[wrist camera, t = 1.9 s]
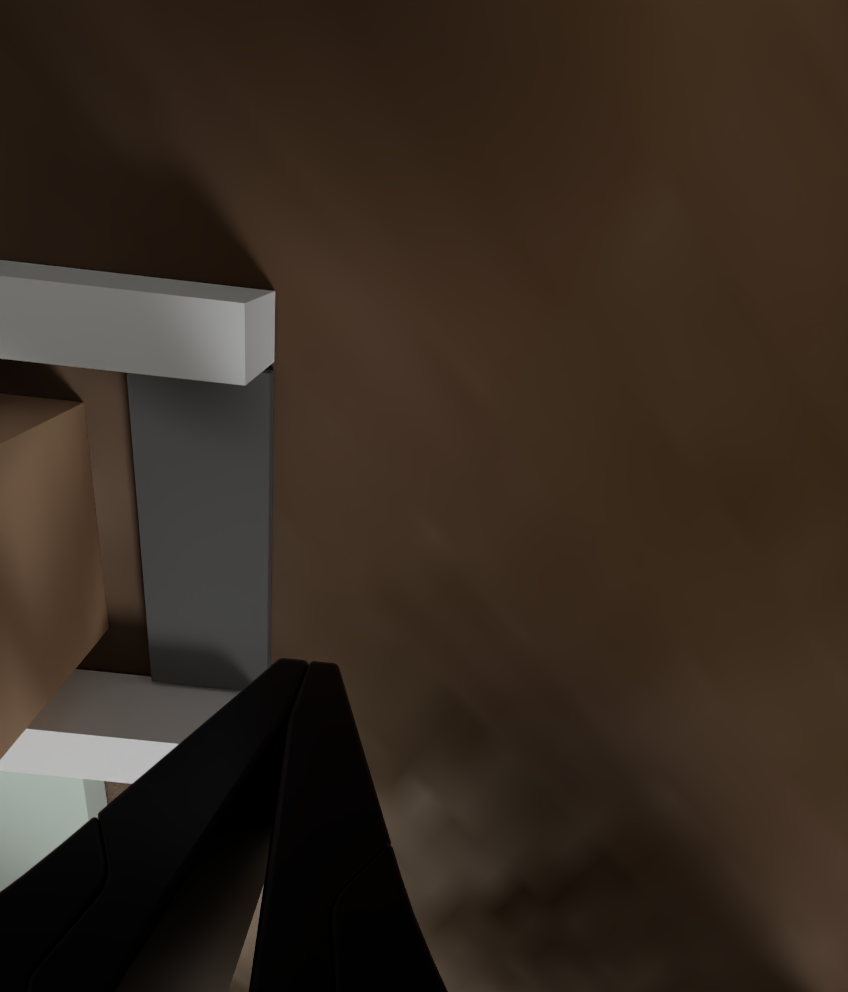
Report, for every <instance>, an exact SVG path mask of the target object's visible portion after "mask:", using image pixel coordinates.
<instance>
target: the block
mask: <svg viewBox="0 0 848 992" xmlns="http://www.w3.org/2000/svg"><path fill="white" fill-rule="evenodd" d="M108 629H109V626H108V617H107V608H106V598H105V589H104V580H103V571H102V562H101V553H100V544H99V535H98V526H97V517H96V508H95V499H94V490H93V481H92V471H91V462H90V453H89V444H88V435H87V426H86V417H85V408H84V402H75V401H66V400H57V399H48V398H39V397H30V396H20V395H11V394H2V393H0V760H1V758H2V757H3V756H4V755H5V754H6V752H7V751H8V750H9V749H10V747H11V746H12V745H13V744H14V743H15V741H16V740H17V739H18V738H19V737H20V735H21V734H22V733H23V732H24V731H25V729H26V728H27V727H28V726H29V724H30V723H31V722H32V721H33V720H34V718H35V717H36V716H37V715H38V714H39V712H40V711H41V710H42V709H43V707H44V706H45V705H46V704H47V703H48V701H49V700H50V699H51V698H52V697H53V695H54V694H55V693H56V692H57V691H58V689H59V688H60V687H61V686H62V684H63V683H64V682H65V681H66V680H67V678H68V677H69V676H70V675H71V674H72V672H73V671H74V670H75V669H76V667H77V666H78V665H79V664H80V663H81V661H82V660H83V659H84V658H85V657H86V655H87V654H88V653H89V652H90V651H91V649H92V648H93V647H94V646H95V644H96V643H97V642H98V641H99V640H100V638H101V637H102V636H103V635H104V634H105V632H106V631H107V630H108Z"/></svg>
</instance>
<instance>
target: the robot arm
mask: <svg viewBox="0 0 848 992" xmlns="http://www.w3.org/2000/svg"><path fill="white" fill-rule="evenodd" d="M263 885H264V888H263ZM262 888H263V895H262V902H261V909H260V916H259V924H258V931H257V938H256V945H255V952H254V959H253V966H252V973H251V980H250V987H249V992H448V991H447V989H446V987H445V985H444V982H443V980H442V978H441V976H440V974H439V971H438V969H437V967H436V965H435V963H434V960H433V958H432V956H431V953H430V951H429V949H428V946H427V944H426V941H425V939H424V936H423V934H422V932H421V929H420V927H419V924H418V922H417V920H416V917H415V915H414V912H413V909H412V906H411V903H410V900H409V897H408V894H407V891H406V888H405V885H404V883H403V880H402V877H401V874H400V870H399V867H398V864H397V860H396V857H395V854H394V850H393V848H392V847H391V841H390V838H389V834H388V831H387V828H386V824H385V821H384V818H383V814H382V811H381V808H380V804H379V801H378V797H377V794H376V791H375V787H374V784H373V781H372V777H371V774H370V770H369V767H368V764H367V760H366V757H365V754H364V750H363V747H362V744H361V740H360V737H359V733H358V730H357V727H356V723H355V720H354V717H353V713H352V710H351V706H350V703H349V700H348V696H347V693H346V690H345V686H344V683H343V679H342V676H341V673H340V669H339V667H338V665H337V664H334V663H326V662H316V661H313V662H311V663H310V664H309V665H308V663H307V662H306V661H305V660H297V659H287V658H281V659H279V660H277V661H276V662H275V663H273V664H272V665H271V666H270V667H269V668H268V669H266V670H265V671H264V672H263V673H262V674H261V675H259V676H258V677H257V678H256V679H255V680H254V681H252V682H251V683H250V684H249V685H248V686H246V687H245V688H244V689H243V690H242V691H241V692H239V693H238V694H237V695H236V696H235V697H234V698H232V699H231V700H230V701H229V702H228V703H227V704H225V705H224V706H223V707H222V708H221V709H219V710H218V711H217V712H216V713H215V714H214V715H212V716H211V717H210V718H209V719H208V720H207V721H205V722H204V723H203V724H202V725H201V726H200V727H198V728H197V729H196V730H195V731H194V732H192V733H191V734H190V735H189V736H188V737H187V738H185V739H184V740H183V741H182V742H181V743H180V744H178V745H177V746H176V747H175V748H174V749H173V750H171V751H170V752H169V753H168V754H167V755H165V756H164V757H163V758H162V759H161V760H160V761H158V762H157V763H156V764H155V765H154V766H153V767H151V768H150V769H149V770H148V771H147V772H146V773H144V774H143V775H142V776H141V777H140V778H138V779H137V780H136V781H135V782H134V783H133V784H131V785H130V786H129V787H128V788H127V789H126V790H124V791H123V792H122V793H121V794H120V795H119V796H117V797H116V798H115V799H114V800H113V801H111V802H110V803H109V804H108V805H107V806H106V807H104V808H103V809H102V810H101V811H100V812H99V813H98V818H96V817H93V818H91V819H90V820H89V821H88V822H86V823H85V824H84V825H83V826H82V827H81V828H79V829H78V830H77V831H76V832H75V833H74V834H72V835H71V836H70V837H69V838H68V839H66V840H65V841H64V842H63V843H62V844H60V845H59V846H58V847H57V848H55V849H54V850H53V851H52V852H50V853H49V854H48V855H47V856H46V857H44V858H43V859H42V860H41V861H39V862H38V863H37V864H36V865H35V866H33V867H32V868H31V869H30V870H28V871H27V872H26V873H25V874H23V875H22V876H21V877H19V878H18V879H17V880H15V881H14V882H13V883H11V884H10V885H9V886H7V887H6V888H5V889H3V890H2V891H1V892H0V992H228V990H229V987H230V984H231V981H232V978H233V975H234V972H235V969H236V966H237V963H238V960H239V957H240V954H241V951H242V948H243V945H244V942H245V939H246V936H247V933H248V930H249V927H250V924H251V921H252V918H253V915H254V912H255V909H256V906H257V903H258V900H259V897H260V894H261V891H262Z"/></svg>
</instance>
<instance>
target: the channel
mask: <svg viewBox="0 0 848 992" xmlns="http://www.w3.org/2000/svg"><path fill="white" fill-rule="evenodd" d="M274 346H275V291H270V290H261V289H253V288H244V287H235V286H226V285H217V284H208V283H200V282H191V281H182V280H173V279H164V278H156V277H147V276H138V275H129V274H120V273H111V272H103V271H94V270H85V269H76V268H67V267H59V266H50V265H41V264H32V263H23V262H15V261H6V260H0V359H9V360H18V361H27V362H36V363H45V364H54V365H63V366H72V367H81V368H90V369H99V370H108V371H117V372H126V373H127V385H128V397H129V410H130V422H131V434H132V446H133V459H134V471H135V483H136V495H137V508H138V520H139V532H140V545H141V557H142V569H143V581H144V594H145V606H146V618H147V631H148V643H149V655H150V667H151V677H149V676H140V675H130V674H120V673H110V672H100V671H90V670H81V669H75V670H74V671H73V672H72V674H71V675H70V676H69V677H68V678H67V680H66V681H65V682H64V683H63V684H62V686H61V687H60V688H59V689H58V691H57V692H56V693H55V694H54V695H53V697H52V698H51V699H50V700H49V701H48V703H47V704H46V705H45V706H44V707H43V709H42V710H41V711H40V712H39V714H38V715H37V716H36V717H35V718H34V720H33V721H32V722H31V723H30V724H29V726H28V727H27V728H26V729H25V731H24V732H23V733H22V734H21V735H20V737H19V738H18V739H17V740H16V741H15V743H14V744H13V745H12V746H11V747H10V749H9V750H8V751H7V752H6V754H5V755H4V756H3V757H2V758H1V760H0V771H8V772H18V773H29V774H39V775H49V776H59V777H69V778H79V779H89V780H100V781H110V782H120V783H130V784H133V783H134V782H135V781H136V780H137V779H138V778H140V777H141V776H142V775H143V774H144V773H146V772H147V771H148V770H149V769H150V768H151V767H153V766H154V765H155V764H156V763H157V762H158V761H160V760H161V759H162V758H163V757H164V756H165V755H167V754H168V753H169V752H170V751H171V750H173V749H174V748H175V747H176V746H177V745H178V744H180V743H181V742H182V741H183V740H184V739H185V738H187V737H188V736H189V735H190V734H191V733H192V732H194V731H195V730H196V729H197V728H198V727H200V726H201V725H202V724H203V723H204V722H205V721H207V720H208V719H209V718H210V717H211V716H212V715H214V714H215V713H216V712H217V711H218V710H219V709H221V708H222V707H223V706H224V705H225V704H227V703H228V702H229V701H230V700H231V699H232V698H234V697H235V696H236V695H237V694H238V693H239V692H241V691H242V690H243V689H244V688H245V687H246V686H248V685H249V684H250V683H251V682H252V681H254V680H255V679H256V678H257V677H258V676H259V675H261V674H262V673H263V672H264V671H265V670H266V669H268V668H269V667H270V666H271V594H272V512H273V429H274V370H268V369H266V368H267V367H269V366H270V365H271V364H272V363H273V362H274Z"/></svg>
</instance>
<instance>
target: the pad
mask: <svg viewBox="0 0 848 992" xmlns="http://www.w3.org/2000/svg"><path fill="white" fill-rule="evenodd" d="M106 806H107V800H106V792H105V784H104V781H100V780H89V779H79V778H69V777H59V776H49V775H39V774H29V773H18V772H8V771H0V892H1V891H2V890H3V889H5V888H6V887H7V886H9V885H10V884H11V883H13V882H14V881H15V880H17V879H18V878H19V877H21V876H22V875H23V874H25V873H26V872H27V871H28V870H30V869H31V868H32V867H33V866H35V865H36V864H37V863H38V862H39V861H41V860H42V859H43V858H44V857H46V856H47V855H48V854H49V853H50V852H52V851H53V850H54V849H55V848H57V847H58V846H59V845H60V844H62V843H63V842H64V841H65V840H66V839H68V838H69V837H70V836H71V835H72V834H74V833H75V832H76V831H77V830H78V829H79V828H81V827H82V826H83V825H84V824H85V823H86V822H88V821H89V820H90V819H91V818H93V817H96V818H98V813H99V812H100V811H101V810H102V809H103V808H104V807H106Z"/></svg>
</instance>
